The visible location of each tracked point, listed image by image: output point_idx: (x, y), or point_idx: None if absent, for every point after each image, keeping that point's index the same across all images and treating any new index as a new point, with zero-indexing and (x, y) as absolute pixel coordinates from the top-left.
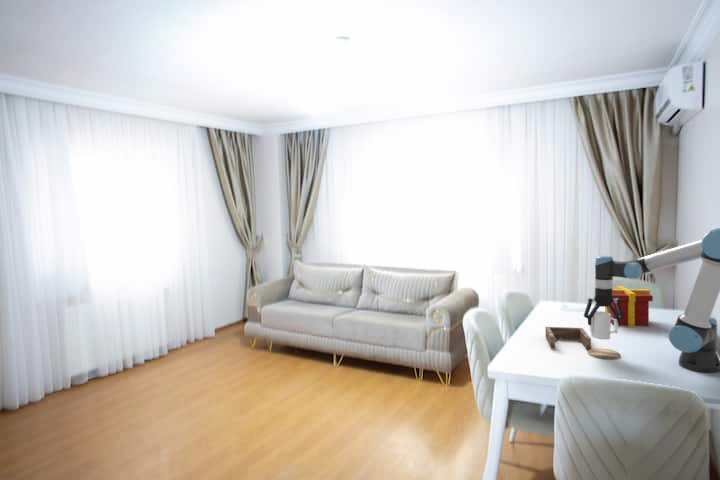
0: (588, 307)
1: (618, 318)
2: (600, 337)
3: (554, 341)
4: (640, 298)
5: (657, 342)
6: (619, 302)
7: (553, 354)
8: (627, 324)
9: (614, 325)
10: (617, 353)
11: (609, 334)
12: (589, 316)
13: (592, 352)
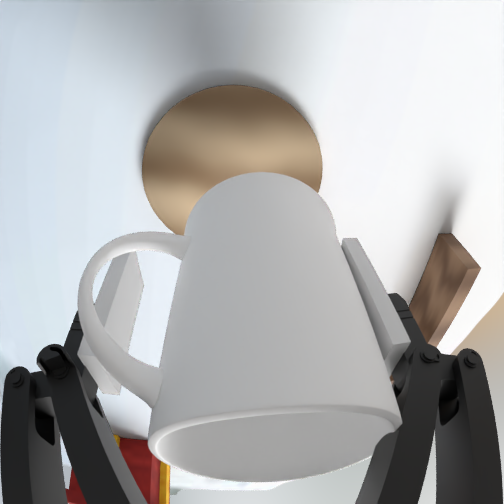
0: (494, 477)
1: (60, 375)
2: (283, 181)
3: (458, 254)
4: (84, 499)
5: (29, 349)
6: None
7: (477, 152)
8: (120, 440)
9: (129, 327)
10: (154, 181)
11: (191, 230)
12: (441, 372)
13: (299, 174)
